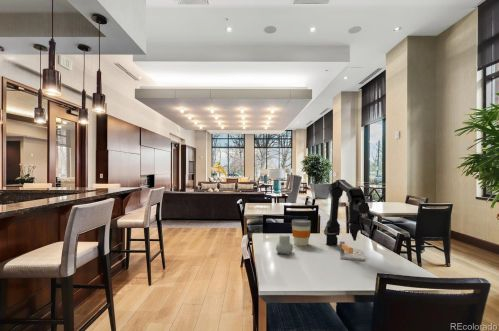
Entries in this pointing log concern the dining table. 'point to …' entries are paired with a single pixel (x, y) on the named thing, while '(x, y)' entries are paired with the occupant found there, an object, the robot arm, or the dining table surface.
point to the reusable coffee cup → (301, 231)
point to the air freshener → (284, 244)
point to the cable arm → (346, 247)
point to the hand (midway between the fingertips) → (354, 240)
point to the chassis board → (352, 255)
